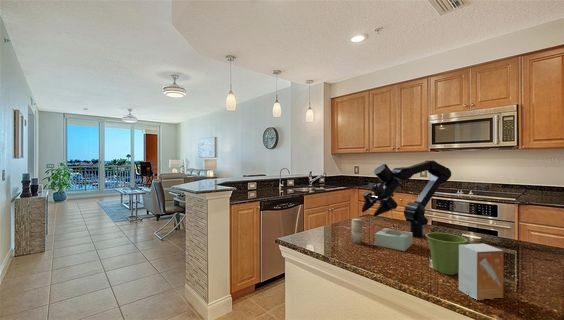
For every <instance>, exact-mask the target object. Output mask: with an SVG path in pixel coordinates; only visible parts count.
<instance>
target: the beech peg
mask: <svg viewBox="0 0 564 320" xmlns="http://www.w3.org/2000/svg"><path fill="white" fill-rule="evenodd" d="M351 243H353V244H356V245H357V244H359V245H360V244H362V243H363V220H362V219H360V218H351Z"/></svg>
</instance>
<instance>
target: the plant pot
mask: <svg viewBox="0 0 564 320" xmlns="http://www.w3.org/2000/svg"><path fill="white" fill-rule="evenodd" d="M425 237H426V238H427V242H428V245H429V250H430V251H429V252H430V257H431V262H432V267H433V270H434V271H437V272H439V273H441V274H444V275H451V276H453V275H457V274H458V275H459V245H465V244H466V243H467V242H468V239H467V238H465V237H464V236H460V235H457V234H452V233H445V232H427V233H425Z"/></svg>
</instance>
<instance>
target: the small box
mask: <svg viewBox="0 0 564 320" xmlns="http://www.w3.org/2000/svg"><path fill="white" fill-rule="evenodd" d="M458 290H459V291H460V292H462V293H463V294H465V295H467V296H468V295H469V298H472V299H473V298H474V299H473V300H475V299H476V300H475V301H477V300H479V301H485V300H484V299H490V300H495V299H494V298H503V299H504V250H503V249H500V248H497V247H494V246H492V245H489V244H486V243H468V244H466V243H465V245H459V272H458Z"/></svg>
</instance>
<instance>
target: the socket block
mask: <svg viewBox="0 0 564 320" xmlns="http://www.w3.org/2000/svg"><path fill="white" fill-rule="evenodd" d="M413 237H414V236H413V233H412V232H410V231H405V230H398V229H394V228H387V227H384V228H383V229H381V230H379V231H377V232H376V233H374V246H377V247H383V248H388V249H392V250H398V251H400V252H401V251H403V252H406V251H407V249H409V248H410V247H411V246H412V245H413V243H414V241H413Z"/></svg>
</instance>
